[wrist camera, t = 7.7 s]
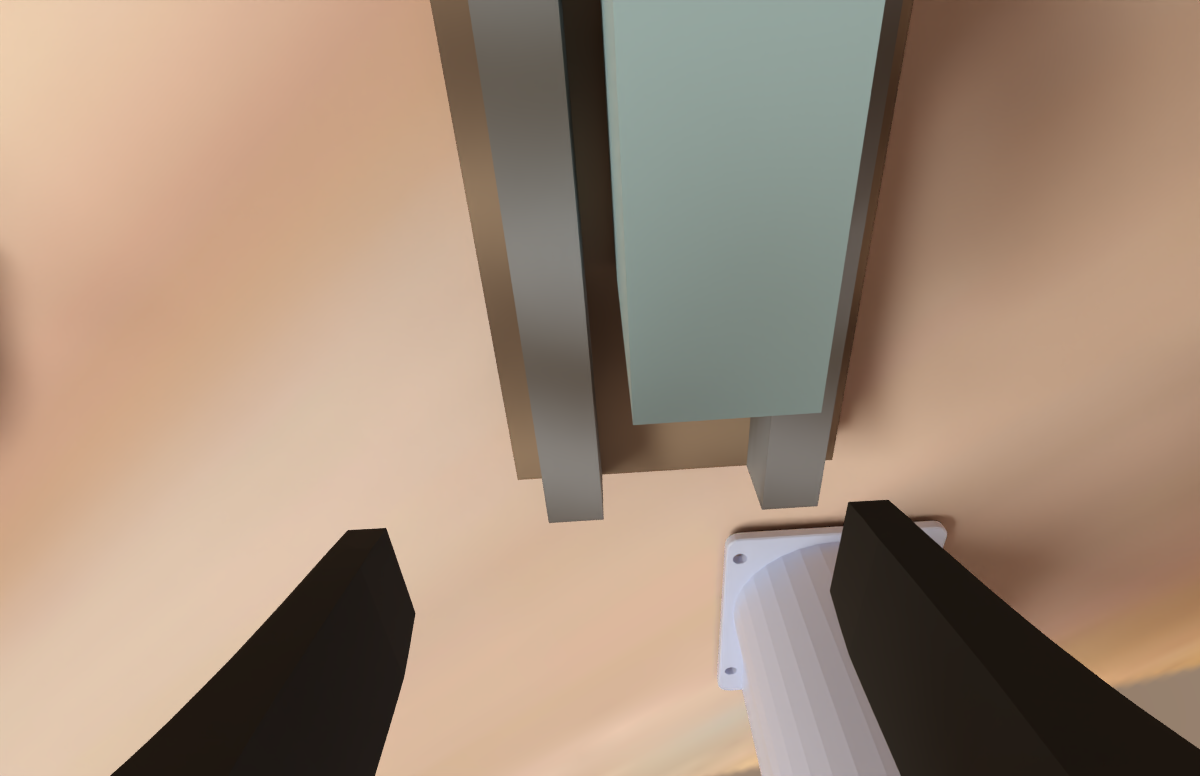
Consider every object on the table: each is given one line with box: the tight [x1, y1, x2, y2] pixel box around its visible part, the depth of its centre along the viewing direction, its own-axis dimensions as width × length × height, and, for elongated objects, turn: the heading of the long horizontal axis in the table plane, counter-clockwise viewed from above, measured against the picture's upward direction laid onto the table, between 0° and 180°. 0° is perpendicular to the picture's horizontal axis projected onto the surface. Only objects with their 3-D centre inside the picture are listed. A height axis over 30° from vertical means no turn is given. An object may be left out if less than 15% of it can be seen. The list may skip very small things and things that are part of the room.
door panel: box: [600, 0, 885, 425], centre depth 10 cm, size 10×3×7 cm, turn 4°
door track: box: [430, 0, 913, 523], centre depth 13 cm, size 22×10×3 cm, turn 4°
